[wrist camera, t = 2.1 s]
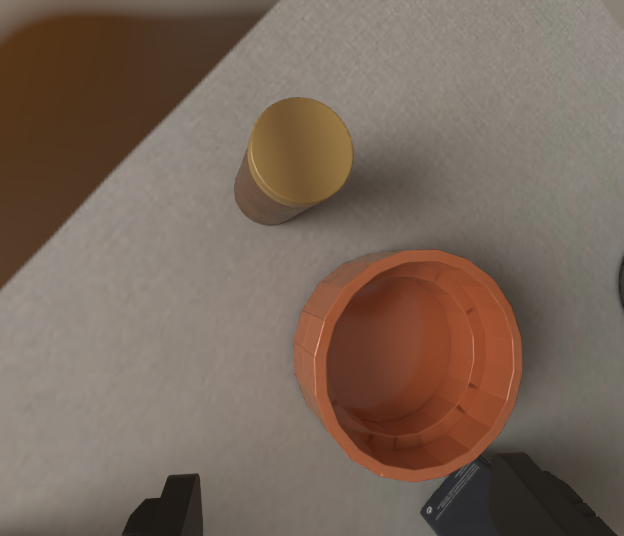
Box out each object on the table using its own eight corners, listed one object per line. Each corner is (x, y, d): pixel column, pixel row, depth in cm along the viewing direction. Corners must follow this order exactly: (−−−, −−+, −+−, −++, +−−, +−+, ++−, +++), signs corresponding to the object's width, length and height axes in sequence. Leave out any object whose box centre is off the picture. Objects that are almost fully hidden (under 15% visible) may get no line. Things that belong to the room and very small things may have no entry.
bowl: (431, 228, 31) (484, 218, 25) (486, 392, 32) (548, 419, 27) (263, 293, 28) (279, 299, 22) (330, 473, 29) (362, 523, 23)
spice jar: (289, 147, 28) (333, 84, 19) (312, 213, 29) (367, 185, 19) (223, 167, 27) (234, 112, 18) (248, 235, 28) (272, 217, 18)
